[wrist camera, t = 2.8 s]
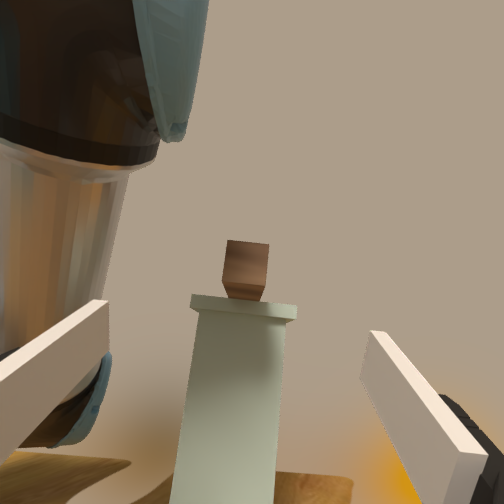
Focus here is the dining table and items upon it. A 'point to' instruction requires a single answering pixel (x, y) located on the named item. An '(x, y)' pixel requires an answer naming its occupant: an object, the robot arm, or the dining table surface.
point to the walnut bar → (245, 270)
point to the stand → (232, 403)
